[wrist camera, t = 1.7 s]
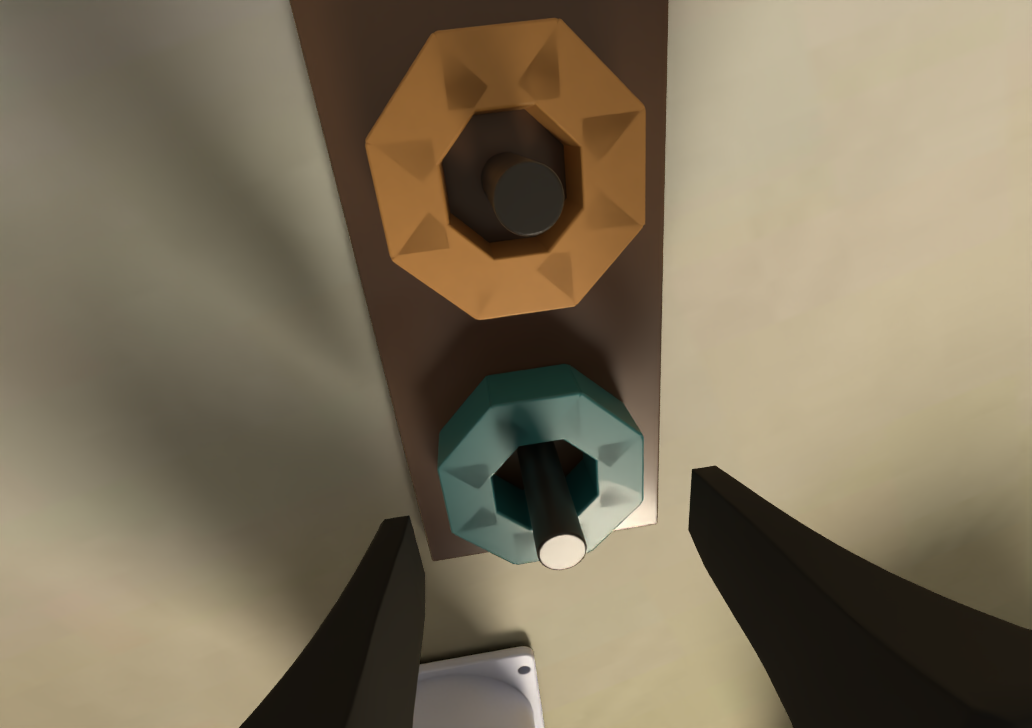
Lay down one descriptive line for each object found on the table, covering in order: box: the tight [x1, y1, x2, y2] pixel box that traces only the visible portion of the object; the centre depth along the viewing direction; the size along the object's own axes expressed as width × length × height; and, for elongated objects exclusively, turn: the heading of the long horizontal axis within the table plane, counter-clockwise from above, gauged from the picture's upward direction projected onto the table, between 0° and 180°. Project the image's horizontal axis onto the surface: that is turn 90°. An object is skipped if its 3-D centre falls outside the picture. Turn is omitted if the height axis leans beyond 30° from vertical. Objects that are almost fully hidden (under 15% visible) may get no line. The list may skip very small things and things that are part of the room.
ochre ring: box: [365, 18, 646, 320], centre depth 11 cm, size 6×6×2 cm
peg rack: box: [289, 0, 668, 570], centre depth 12 cm, size 16×8×5 cm, turn 6°
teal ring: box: [437, 364, 644, 565], centre depth 15 cm, size 6×6×2 cm
